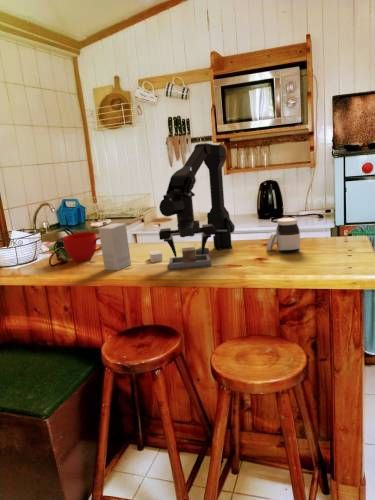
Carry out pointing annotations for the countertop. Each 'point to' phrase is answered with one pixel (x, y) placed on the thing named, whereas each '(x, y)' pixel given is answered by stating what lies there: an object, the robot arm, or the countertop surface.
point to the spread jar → (286, 236)
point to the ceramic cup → (81, 246)
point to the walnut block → (189, 254)
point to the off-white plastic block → (155, 255)
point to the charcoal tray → (179, 264)
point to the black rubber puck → (198, 252)
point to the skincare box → (114, 246)
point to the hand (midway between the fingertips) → (189, 256)
